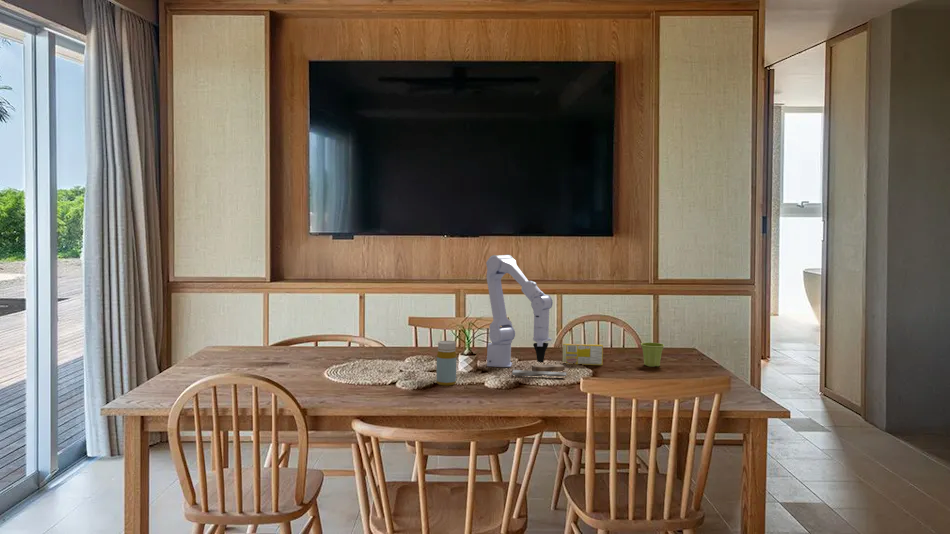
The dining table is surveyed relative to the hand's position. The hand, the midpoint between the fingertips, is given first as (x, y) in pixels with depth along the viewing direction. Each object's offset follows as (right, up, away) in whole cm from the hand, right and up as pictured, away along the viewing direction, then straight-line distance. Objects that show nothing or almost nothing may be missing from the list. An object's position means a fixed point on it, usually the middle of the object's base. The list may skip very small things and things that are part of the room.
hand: (540, 362), depth 304 cm
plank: (+3, -5, +1) cm, 6 cm away
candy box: (+19, -4, +19) cm, 27 cm away
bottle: (-35, -5, -21) cm, 41 cm away
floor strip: (-1, -5, -6) cm, 8 cm away
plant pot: (+47, -4, +19) cm, 51 cm away
